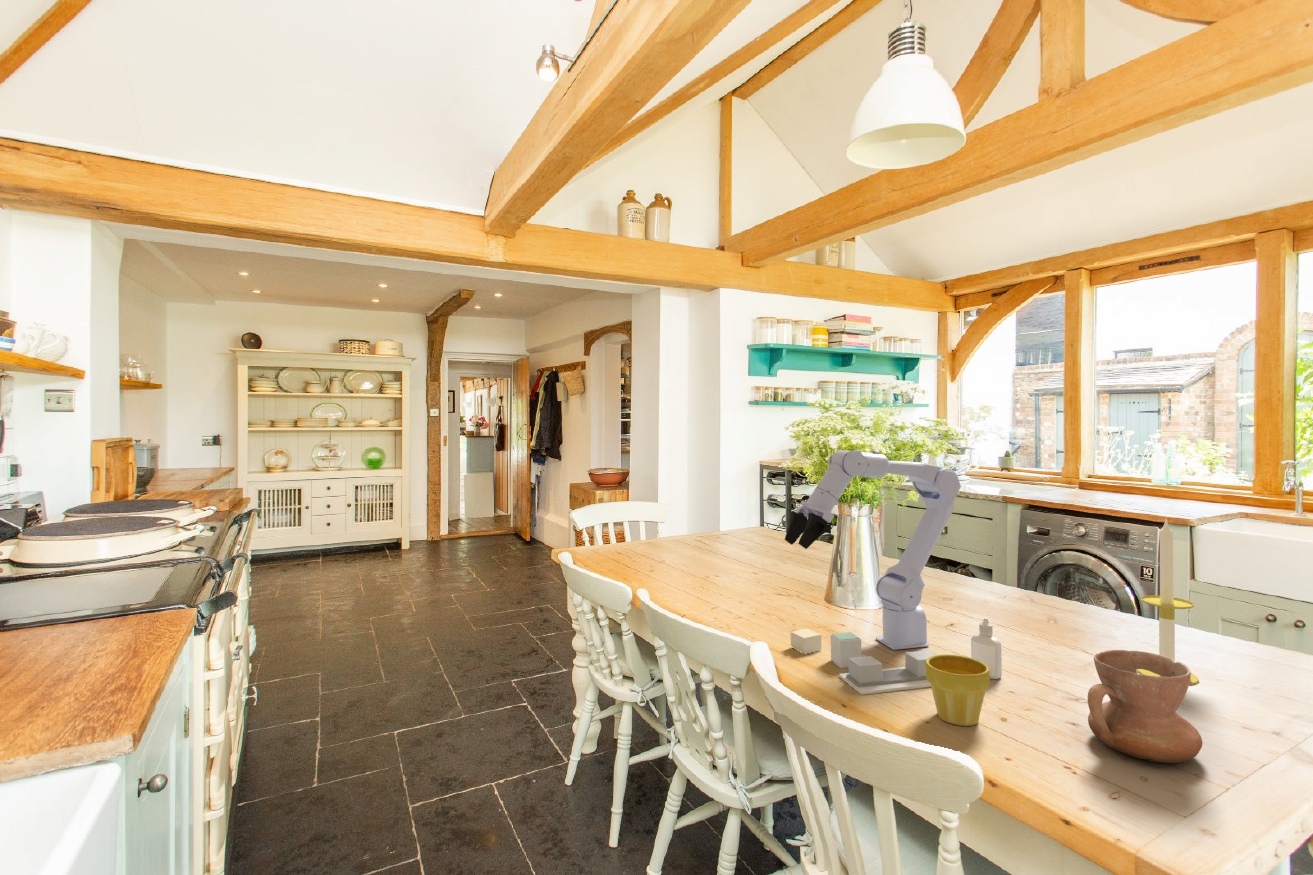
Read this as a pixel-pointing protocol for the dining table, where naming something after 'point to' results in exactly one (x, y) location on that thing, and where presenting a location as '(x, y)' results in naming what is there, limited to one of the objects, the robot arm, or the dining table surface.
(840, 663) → the block
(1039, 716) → the dining table surface
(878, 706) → the dining table surface
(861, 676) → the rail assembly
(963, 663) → the plant pot
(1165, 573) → the candle
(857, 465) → the robot arm
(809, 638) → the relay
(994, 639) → the eye dropper bottle
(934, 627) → the dining table surface
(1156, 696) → the ceramic jug
